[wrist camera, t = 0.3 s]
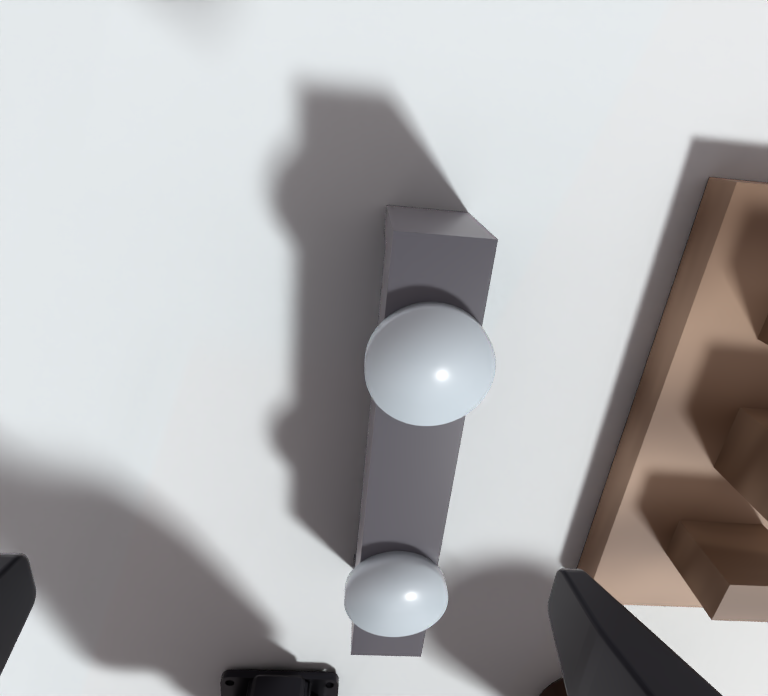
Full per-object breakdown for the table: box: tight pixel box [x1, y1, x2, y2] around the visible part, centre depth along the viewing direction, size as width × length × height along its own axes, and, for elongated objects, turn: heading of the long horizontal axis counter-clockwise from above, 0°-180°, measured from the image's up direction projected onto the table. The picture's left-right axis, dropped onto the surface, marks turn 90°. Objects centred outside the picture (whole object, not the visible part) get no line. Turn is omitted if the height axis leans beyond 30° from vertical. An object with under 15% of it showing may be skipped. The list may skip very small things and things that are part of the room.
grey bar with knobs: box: [344, 205, 498, 657], centre depth 20 cm, size 18×4×5 cm, turn 175°
